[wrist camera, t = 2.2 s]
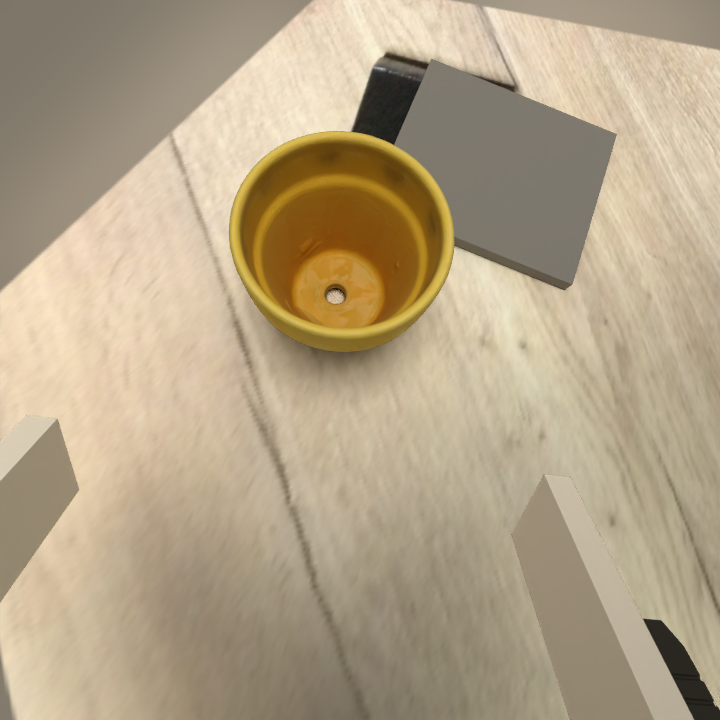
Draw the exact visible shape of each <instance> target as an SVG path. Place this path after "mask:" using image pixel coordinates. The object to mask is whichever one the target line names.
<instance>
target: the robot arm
mask: <svg viewBox="0 0 720 720" xmlns="http://www.w3.org/2000/svg"><path fill="white" fill-rule="evenodd" d="M78 491H79V487H78V484H77V481H76V477H75V474H74V471H73V468H72V464H71V461H70V458H69V455H68V451H67V448H66V445H65V442H64V438H63V435H62V432H61V429H60V425H59V422H58V419H57V418H49V417H40V416H31V415H26V416H25V417H24V418H23V419H22V420H21V421H20V422H19V423H18V424H17V425H16V426H15V427H14V428H13V429H12V430H11V431H10V432H9V433H8V434H7V435H6V436H5V437H4V438H3V439H2V440H1V441H0V602H1V601H2V599H3V598H4V596H5V595H6V593H7V592H8V591H9V589H10V588H11V586H12V585H13V583H14V582H15V581H16V579H17V578H18V576H19V575H20V573H21V572H22V571H23V569H24V568H25V566H26V565H27V563H28V562H29V561H30V559H31V558H32V556H33V555H34V553H35V552H36V551H37V549H38V548H39V546H40V545H41V543H42V542H43V541H44V539H45V538H46V536H47V535H48V534H49V532H50V531H51V529H52V528H53V526H54V525H55V524H56V522H57V521H58V519H59V518H60V516H61V515H62V514H63V512H64V511H65V509H66V508H67V506H68V505H69V504H70V502H71V501H72V499H73V498H74V496H75V495H76V494H77V492H78ZM512 538H513V541H514V544H515V548H516V551H517V554H518V557H519V560H520V563H521V567H522V570H523V573H524V576H525V579H526V582H527V585H528V589H529V592H530V595H531V598H532V601H533V604H534V608H535V611H536V614H537V617H538V620H539V623H540V627H541V630H542V633H543V636H544V639H545V642H546V646H547V649H548V652H549V655H550V658H551V661H552V664H553V668H554V671H555V674H556V677H557V680H558V683H559V687H560V690H561V693H562V696H563V699H564V702H565V706H566V709H567V712H568V715H569V718H570V720H720V710H719V709H718V707H717V706H715V705H714V703H713V701H714V700H713V698H712V696H711V694H710V692H709V691H708V689H707V687H706V685H705V683H704V682H703V681H701V680H700V674H699V673H698V671H697V669H696V667H695V665H694V664H693V662H692V660H691V658H690V657H689V655H688V653H687V651H686V649H685V648H684V646H683V645H682V644H681V643H680V641H679V640H678V639H677V638H676V637H675V636H674V635H673V633H672V632H671V631H670V630H669V629H668V628H667V627H666V625H665V624H664V623H663V622H662V621H661V620H651V619H642V617H641V615H640V613H639V611H638V609H637V607H636V605H635V603H634V601H633V599H632V597H631V595H630V593H629V591H628V589H627V587H626V585H625V583H624V581H623V579H622V577H621V575H620V574H619V572H618V570H617V568H616V566H615V564H614V562H613V560H612V558H611V556H610V554H609V552H608V550H607V548H606V546H605V544H604V542H603V540H602V538H601V536H600V534H599V532H598V530H597V528H596V526H595V525H594V523H593V521H592V519H591V517H590V515H589V513H588V511H587V509H586V507H585V505H584V503H583V501H582V499H581V497H580V495H579V493H578V491H577V489H576V487H575V485H574V483H573V481H572V479H571V477H564V476H555V475H547V474H544V475H543V477H542V479H541V481H540V483H539V485H538V486H537V488H536V490H535V492H534V494H533V496H532V498H531V499H530V501H529V503H528V505H527V507H526V509H525V511H524V512H523V514H522V516H521V518H520V520H519V522H518V524H517V525H516V527H515V529H514V531H513V533H512Z"/></svg>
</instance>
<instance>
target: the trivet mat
mask: <svg viewBox="0 0 720 720" xmlns="http://www.w3.org/2000/svg"><path fill="white" fill-rule="evenodd" d="M616 135H617V134H615V133H613V132H610V131H608V130H605V129H603V128H600V127H598V126H595V125H593V124H590V123H588V122H585V121H583V120H581V119H578V118H576V117H573V116H571V115H568V114H566V113H563V112H561V111H558V110H556V109H554V108H551V107H549V106H546V105H544V104H541V103H539V102H536V101H534V100H531V99H529V98H526V97H524V96H522V95H519V94H517V93H514V92H512V91H509V90H507V89H504V88H502V87H499V86H497V85H495V84H492V83H490V82H487V81H485V80H482V79H480V78H477V77H475V76H472V75H470V74H467V73H465V72H463V71H460V70H458V69H455V68H453V67H450V66H448V65H445V64H443V63H440V62H438V61H436V60H433V59H431V61H430V64H429V66H428V68H427V70H426V73H425V75H424V77H423V80H422V82H421V84H420V87H419V89H418V91H417V93H416V96H415V98H414V100H413V103H412V105H411V107H410V110H409V112H408V114H407V117H406V119H405V121H404V123H403V126H402V128H401V130H400V133H399V135H398V137H397V140H396V142H395V144H394V146H396V147H398V148H400V149H402V150H403V151H405V152H406V153H408V154H409V155H411V156H412V157H413V158H415V159H416V160H417V161H418V162H419V163H420V164H421V165H422V166H423V167H424V168H425V169H426V170H427V171H428V172H429V173H430V174H431V175H432V177H433V178H434V180H435V181H436V182H437V184H438V185H439V187H440V189H441V191H442V192H443V194H444V196H445V199H446V201H447V203H448V206H449V209H450V212H451V216H452V220H453V227H454V245H455V246H457V247H460V248H462V249H465V250H467V251H470V252H472V253H475V254H477V255H480V256H482V257H485V258H487V259H490V260H492V261H495V262H497V263H499V264H502V265H504V266H507V267H509V268H512V269H514V270H517V271H519V272H522V273H524V274H527V275H529V276H532V277H534V278H537V279H539V280H541V281H544V282H546V283H549V284H551V285H554V286H556V287H559V288H561V289H564V290H565V289H566V288H568V287H569V286H571V285H572V284H573V281H574V277H575V274H576V270H577V267H578V264H579V260H580V257H581V253H582V250H583V247H584V243H585V240H586V237H587V233H588V230H589V226H590V223H591V220H592V216H593V213H594V210H595V206H596V203H597V199H598V196H599V193H600V189H601V186H602V182H603V179H604V176H605V172H606V169H607V166H608V162H609V159H610V155H611V152H612V149H613V145H614V142H615V139H616Z"/></svg>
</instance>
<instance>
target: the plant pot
mask: <svg viewBox="0 0 720 720" xmlns="http://www.w3.org/2000/svg"><path fill="white" fill-rule="evenodd" d="M229 241H230V249H231V253H232V257H233V261H234V264H235V266H236V269H237V272H238V274H239V276H240V278H241V280H242V282H243V284H244V286H245V288H246V290H247V292H248V293H249V295H250V297H251V298H252V300H253V301H254V303H255V304H256V306H257V307H258V308H259V310H260V311H261V312H262V314H263V315H264V316H265V317H266V318H267V319H268V320H269V321H270V322H271V323H272V324H273V325H274V326H275V327H276V328H277V329H279V330H280V331H281V332H283V333H284V334H286V335H287V336H289V337H291V338H292V339H294V340H296V341H298V342H300V343H302V344H305V345H307V346H310V347H314V348H317V349H321V350H326V351H335V352H353V351H360V350H366V349H370V348H373V347H377V346H379V345H382V344H384V343H387V342H389V341H391V340H392V339H394V338H396V337H398V336H399V335H400V334H402V333H403V332H405V331H406V330H407V329H408V328H409V327H410V326H411V325H413V324H414V323H415V322H416V321H417V320H418V319H419V317H420V316H421V315H422V314H423V313H424V312H425V311H426V309H427V308H428V307H429V306H430V304H431V303H432V302H433V300H434V299H435V297H436V296H437V295H438V293H439V291H440V290H441V288H442V286H443V284H444V283H445V280H446V278H447V276H448V273H449V270H450V267H451V264H452V259H453V253H454V227H453V220H452V216H451V212H450V209H449V206H448V203H447V201H446V199H445V196H444V194H443V192H442V191H441V189H440V187H439V185H438V184H437V182H436V181H435V180H434V178H433V177H432V175H431V174H430V173H429V172H428V171H427V170H426V169H425V168H424V167H423V166H422V165H421V164H420V163H419V162H418V161H417V160H416V159H415V158H413V157H412V156H411V155H409V154H408V153H406V152H405V151H403V150H402V149H400V148H398V147H396V146H394V145H392V144H390V143H388V142H386V141H384V140H381V139H379V138H376V137H372V136H369V135H366V134H361V133H355V132H345V131H328V132H319V133H314V134H309V135H305V136H302V137H299V138H296V139H293V140H291V141H288V142H286V143H284V144H282V145H281V146H279V147H277V148H275V149H274V150H273V151H271V152H270V153H269V154H267V155H266V156H265V157H264V158H262V159H261V160H260V161H259V162H258V163H257V164H256V165H255V166H254V168H253V169H252V170H251V171H250V172H249V174H248V175H247V176H246V178H245V180H244V181H243V183H242V184H241V186H240V188H239V190H238V192H237V195H236V197H235V200H234V203H233V206H232V210H231V216H230V224H229ZM332 288H339V289H341V290H342V291H343V292H344V294H345V300H344V301H343V302H342V303H340V304H332V303H330V302H328V301H327V299H326V293H327V292H328V290H330V289H332Z"/></svg>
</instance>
